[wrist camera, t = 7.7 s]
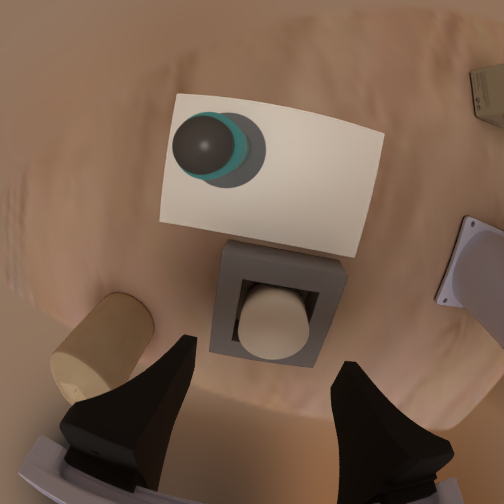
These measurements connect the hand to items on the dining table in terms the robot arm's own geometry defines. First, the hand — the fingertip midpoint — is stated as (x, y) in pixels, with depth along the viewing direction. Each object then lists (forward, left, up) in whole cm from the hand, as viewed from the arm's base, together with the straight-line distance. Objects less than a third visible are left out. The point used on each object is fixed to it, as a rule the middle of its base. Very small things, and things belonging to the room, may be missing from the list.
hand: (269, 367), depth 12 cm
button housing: (0, +1, -8) cm, 9 cm away
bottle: (+5, -9, -8) cm, 13 cm away
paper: (+2, -8, -8) cm, 12 cm away
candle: (+12, +6, -9) cm, 16 cm away
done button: (0, +1, -7) cm, 7 cm away
